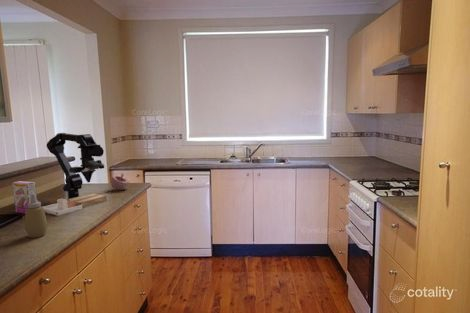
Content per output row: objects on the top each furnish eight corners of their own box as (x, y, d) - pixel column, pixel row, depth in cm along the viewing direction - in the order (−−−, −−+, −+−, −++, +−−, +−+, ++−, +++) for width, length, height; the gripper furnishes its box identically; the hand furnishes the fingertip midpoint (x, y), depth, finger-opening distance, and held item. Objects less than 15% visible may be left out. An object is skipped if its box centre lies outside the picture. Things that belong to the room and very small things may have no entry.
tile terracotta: (62, 207, 171) (61, 202, 171) (70, 204, 175) (70, 200, 175) (67, 208, 168) (67, 203, 168) (76, 206, 173) (76, 201, 172)
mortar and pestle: (126, 192, 206) (125, 175, 204) (108, 192, 206) (107, 175, 204) (132, 187, 218) (131, 171, 216) (115, 187, 218) (114, 171, 216)
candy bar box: (14, 212, 163) (11, 182, 161) (23, 210, 168) (20, 180, 166) (29, 215, 160) (26, 184, 157) (38, 212, 164) (36, 181, 162)
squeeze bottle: (32, 232, 136) (28, 192, 134) (51, 231, 137) (48, 191, 134) (21, 239, 128) (17, 197, 126) (42, 238, 129) (38, 196, 126)
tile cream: (62, 207, 171) (57, 208, 168) (61, 198, 170) (57, 199, 168) (67, 208, 168) (63, 209, 166) (67, 199, 167) (62, 200, 165)
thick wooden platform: (66, 204, 178) (66, 199, 177) (91, 198, 192) (91, 193, 191) (82, 208, 171) (81, 202, 171) (106, 200, 185) (106, 196, 184)
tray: (39, 211, 166) (39, 207, 165) (64, 204, 178) (64, 201, 178) (57, 215, 158) (57, 212, 158) (82, 208, 170) (82, 205, 170)
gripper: (80, 158, 167) (82, 187, 169) (109, 154, 183) (111, 180, 185) (67, 157, 173) (70, 184, 175) (97, 153, 189) (99, 178, 191)
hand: (88, 182), depth 181 cm, fingers closed
